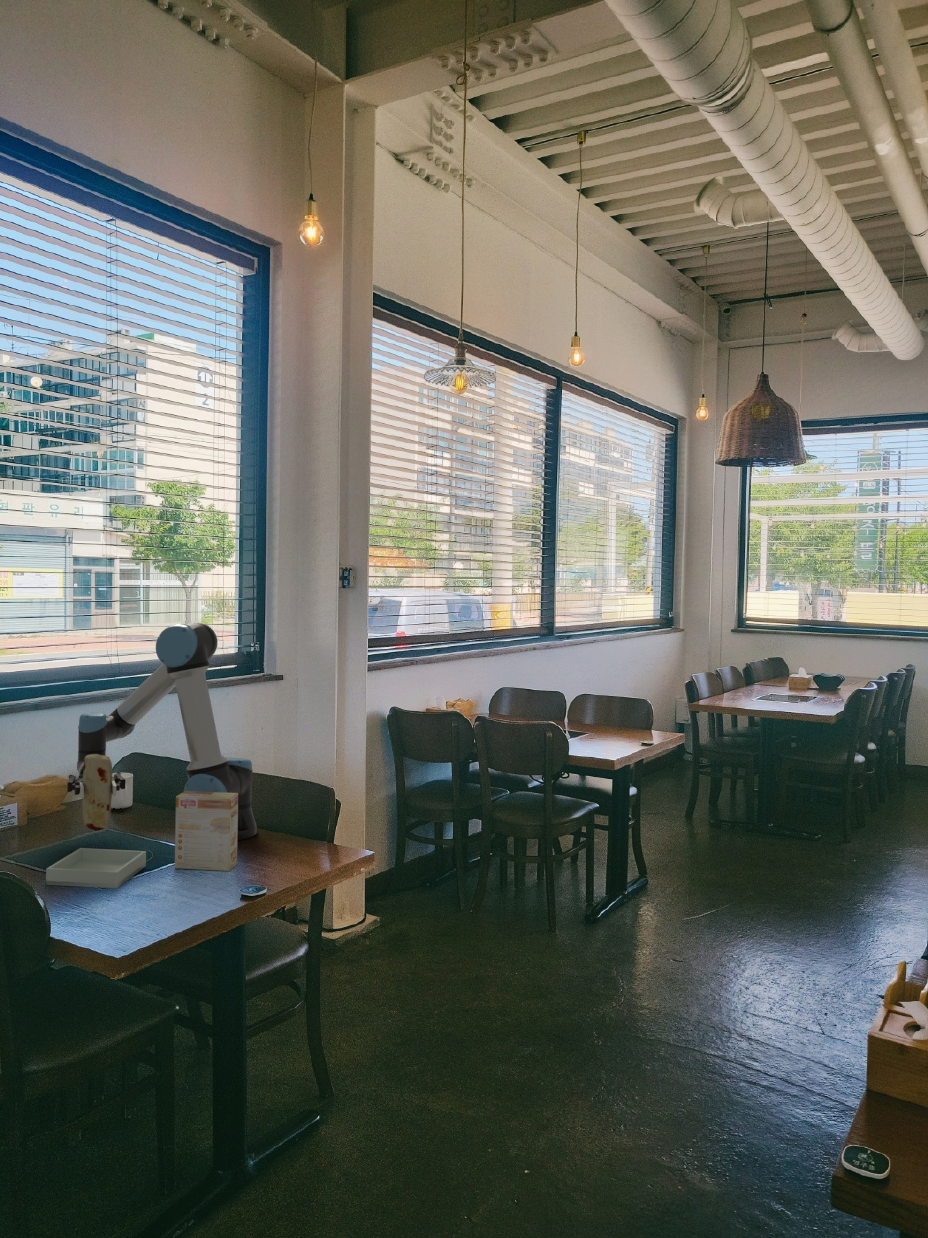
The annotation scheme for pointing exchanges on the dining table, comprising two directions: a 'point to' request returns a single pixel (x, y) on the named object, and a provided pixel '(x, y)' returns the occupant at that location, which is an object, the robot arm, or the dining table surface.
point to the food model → (97, 791)
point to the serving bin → (96, 868)
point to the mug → (123, 793)
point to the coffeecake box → (206, 830)
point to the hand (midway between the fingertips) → (98, 792)
